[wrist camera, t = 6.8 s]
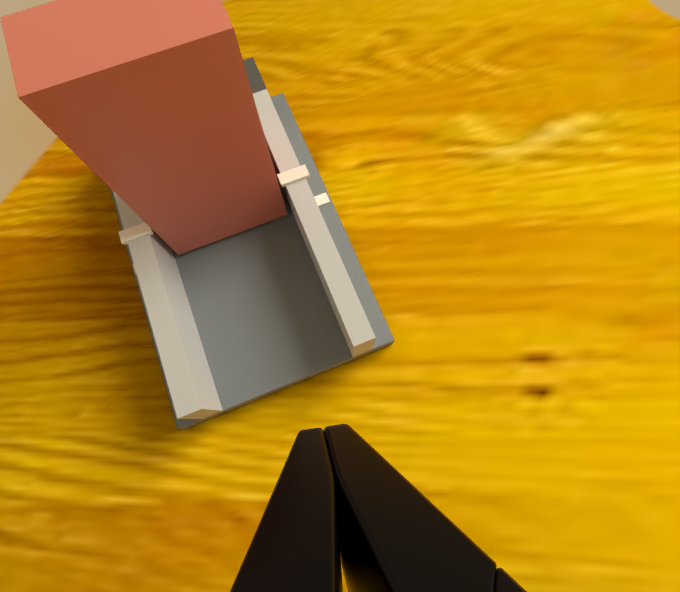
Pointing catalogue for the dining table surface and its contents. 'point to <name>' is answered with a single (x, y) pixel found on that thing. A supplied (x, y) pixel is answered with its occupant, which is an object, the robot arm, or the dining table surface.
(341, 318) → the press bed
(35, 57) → the plug
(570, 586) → the dining table surface
